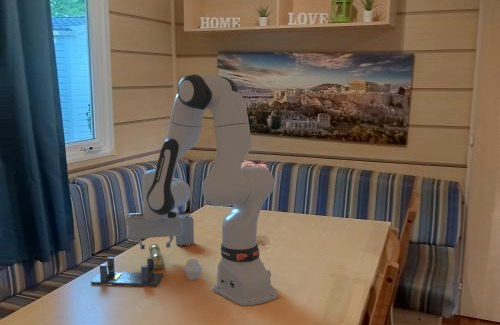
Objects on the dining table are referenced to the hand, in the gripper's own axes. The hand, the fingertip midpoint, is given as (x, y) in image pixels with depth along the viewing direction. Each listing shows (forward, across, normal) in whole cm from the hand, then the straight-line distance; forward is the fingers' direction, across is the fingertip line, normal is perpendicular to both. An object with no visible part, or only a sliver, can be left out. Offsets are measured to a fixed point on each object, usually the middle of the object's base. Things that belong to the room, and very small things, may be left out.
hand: (155, 248), depth 185 cm
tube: (+5, 0, -1) cm, 5 cm away
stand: (+5, -10, -16) cm, 20 cm away
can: (+6, +13, +17) cm, 22 cm away
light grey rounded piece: (+5, +11, -20) cm, 23 cm away
